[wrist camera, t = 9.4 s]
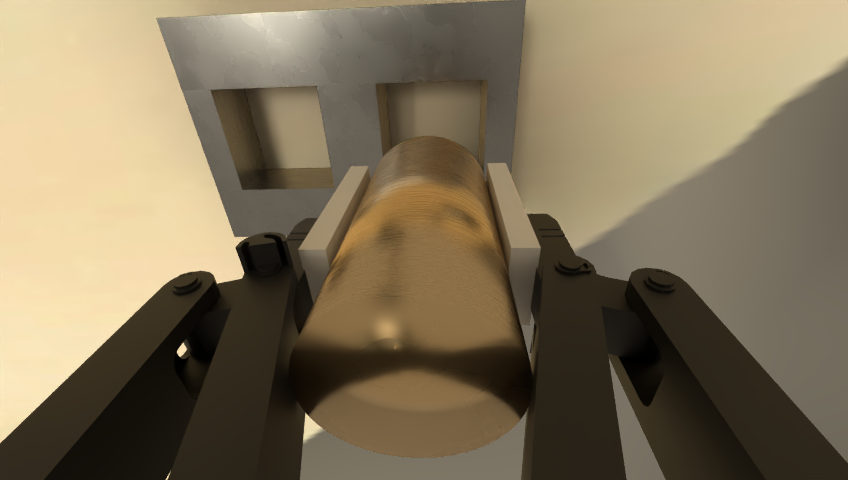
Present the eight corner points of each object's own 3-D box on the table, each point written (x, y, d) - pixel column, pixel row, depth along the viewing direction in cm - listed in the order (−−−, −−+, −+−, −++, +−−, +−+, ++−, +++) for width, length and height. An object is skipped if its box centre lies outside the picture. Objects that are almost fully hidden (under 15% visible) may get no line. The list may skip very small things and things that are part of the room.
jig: (257, 212, 31) (234, 236, 27) (197, 17, 24) (156, 18, 20) (498, 208, 30) (505, 233, 26) (513, 2, 22) (525, -1, 19)
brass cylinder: (378, 242, 18) (314, 454, 9) (365, 137, 15) (258, 296, 6) (483, 241, 17) (521, 460, 9) (489, 134, 15) (549, 296, 6)
